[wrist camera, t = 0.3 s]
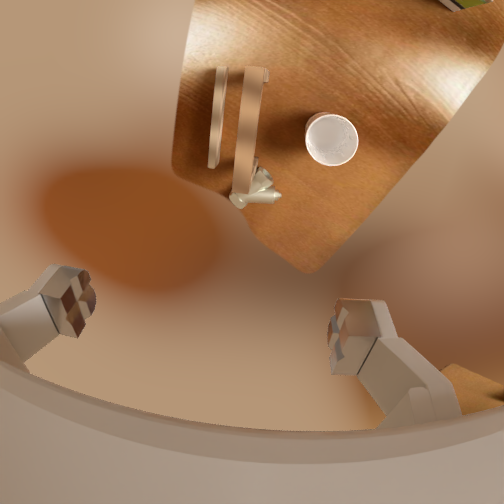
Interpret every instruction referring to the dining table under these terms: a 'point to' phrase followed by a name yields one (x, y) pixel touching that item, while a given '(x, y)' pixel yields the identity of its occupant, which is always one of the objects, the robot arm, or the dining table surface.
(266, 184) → the pipe fitting
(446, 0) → the tea box
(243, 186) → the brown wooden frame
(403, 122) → the dining table surface
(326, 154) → the white cup
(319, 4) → the dining table surface
